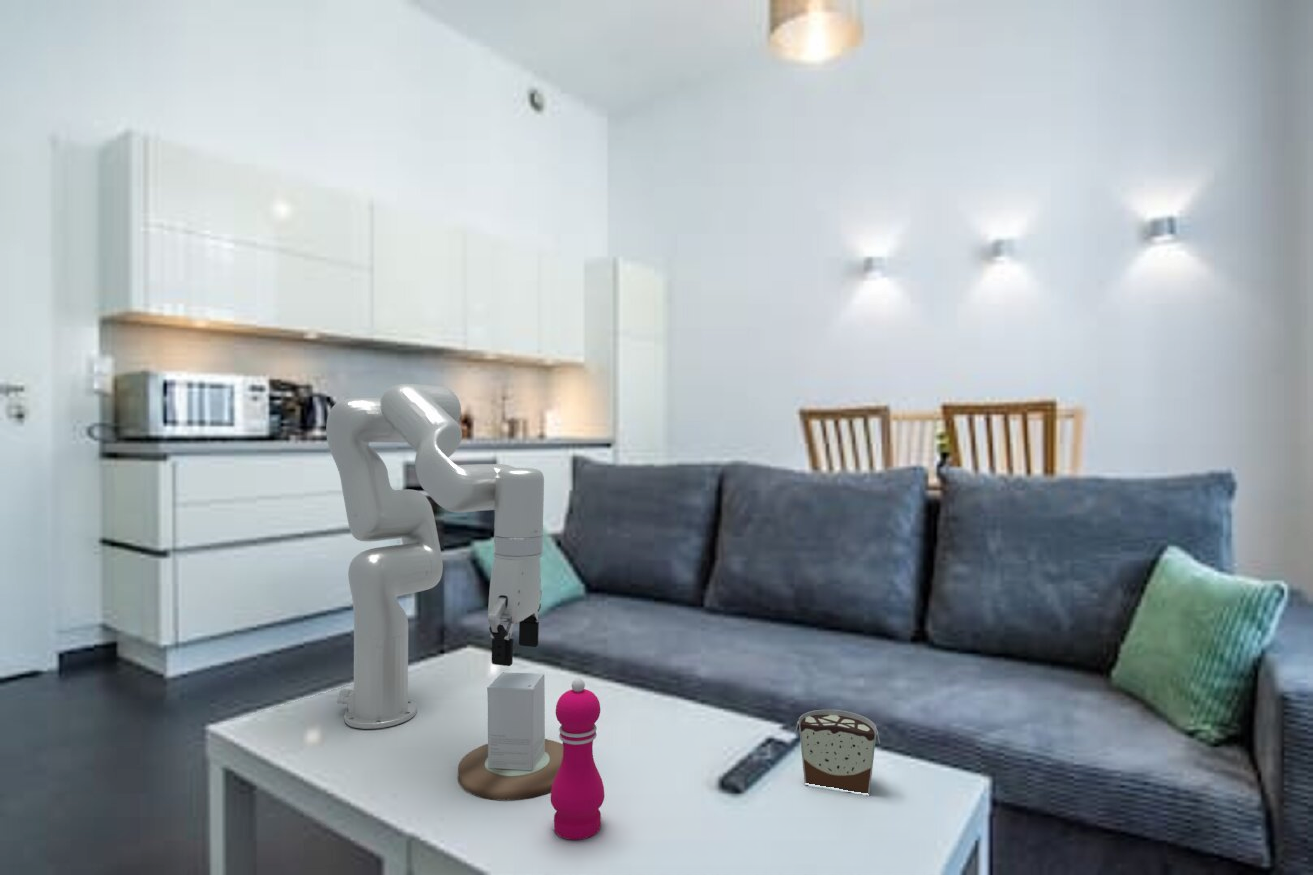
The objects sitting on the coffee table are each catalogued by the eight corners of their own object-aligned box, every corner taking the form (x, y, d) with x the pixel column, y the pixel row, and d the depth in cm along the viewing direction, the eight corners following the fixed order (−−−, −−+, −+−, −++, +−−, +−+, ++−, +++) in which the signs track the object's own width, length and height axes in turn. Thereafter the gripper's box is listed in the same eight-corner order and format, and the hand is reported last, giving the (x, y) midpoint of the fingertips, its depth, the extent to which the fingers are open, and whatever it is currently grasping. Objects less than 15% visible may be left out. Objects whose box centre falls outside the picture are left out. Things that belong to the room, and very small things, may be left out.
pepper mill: (552, 814, 99) (552, 670, 99) (604, 812, 100) (604, 669, 100) (548, 843, 92) (549, 688, 92) (604, 841, 93) (605, 687, 93)
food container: (881, 778, 110) (881, 714, 110) (879, 797, 104) (880, 729, 104) (800, 766, 114) (800, 703, 114) (794, 783, 108) (795, 718, 108)
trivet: (435, 791, 105) (435, 780, 105) (491, 741, 123) (491, 731, 123) (549, 807, 101) (549, 795, 101) (590, 752, 119) (590, 742, 119)
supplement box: (546, 750, 115) (546, 672, 115) (532, 771, 108) (533, 688, 108) (502, 748, 116) (502, 670, 116) (485, 769, 109) (486, 686, 109)
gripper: (519, 537, 121) (517, 637, 122) (469, 554, 104) (467, 670, 105) (560, 539, 120) (558, 641, 120) (517, 557, 103) (514, 675, 103)
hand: (515, 654), depth 112 cm, fingers open, 9 cm apart
